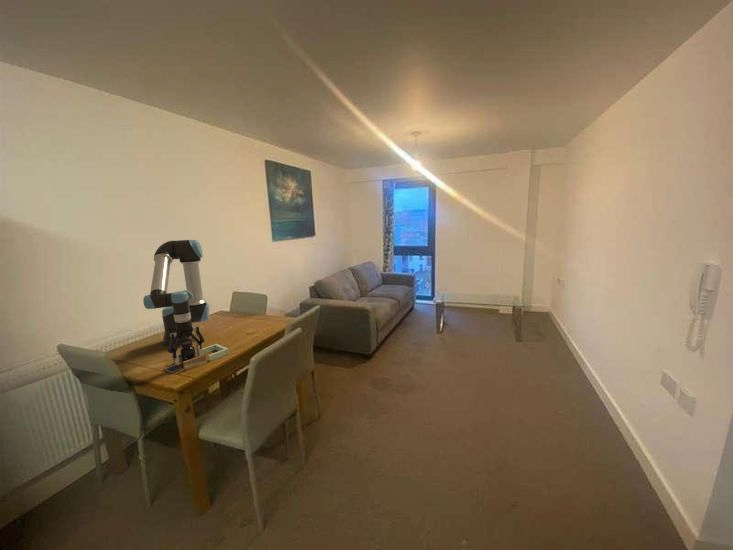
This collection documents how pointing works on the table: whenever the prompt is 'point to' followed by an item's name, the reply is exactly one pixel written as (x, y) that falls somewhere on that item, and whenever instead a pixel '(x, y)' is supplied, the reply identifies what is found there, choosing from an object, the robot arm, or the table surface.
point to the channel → (192, 361)
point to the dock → (220, 353)
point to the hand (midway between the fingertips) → (188, 359)
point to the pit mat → (173, 369)
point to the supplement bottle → (187, 351)
